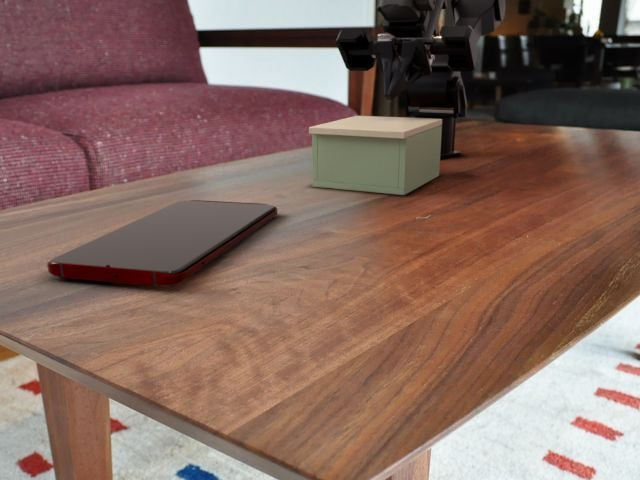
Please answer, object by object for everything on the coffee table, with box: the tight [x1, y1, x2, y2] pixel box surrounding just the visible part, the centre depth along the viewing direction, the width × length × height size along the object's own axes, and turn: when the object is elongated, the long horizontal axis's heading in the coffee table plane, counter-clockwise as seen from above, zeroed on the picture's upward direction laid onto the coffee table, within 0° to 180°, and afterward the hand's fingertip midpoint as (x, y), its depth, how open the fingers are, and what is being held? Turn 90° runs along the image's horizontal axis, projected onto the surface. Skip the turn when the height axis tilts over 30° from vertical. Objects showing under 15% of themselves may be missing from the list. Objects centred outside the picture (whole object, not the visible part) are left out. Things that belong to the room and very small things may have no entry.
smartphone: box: [46, 199, 278, 287], centre depth 63 cm, size 12×2×25 cm
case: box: [311, 125, 442, 196], centre depth 88 cm, size 14×13×7 cm
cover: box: [308, 115, 442, 139], centre depth 87 cm, size 14×13×1 cm
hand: (387, 98), depth 88 cm, fingers closed
